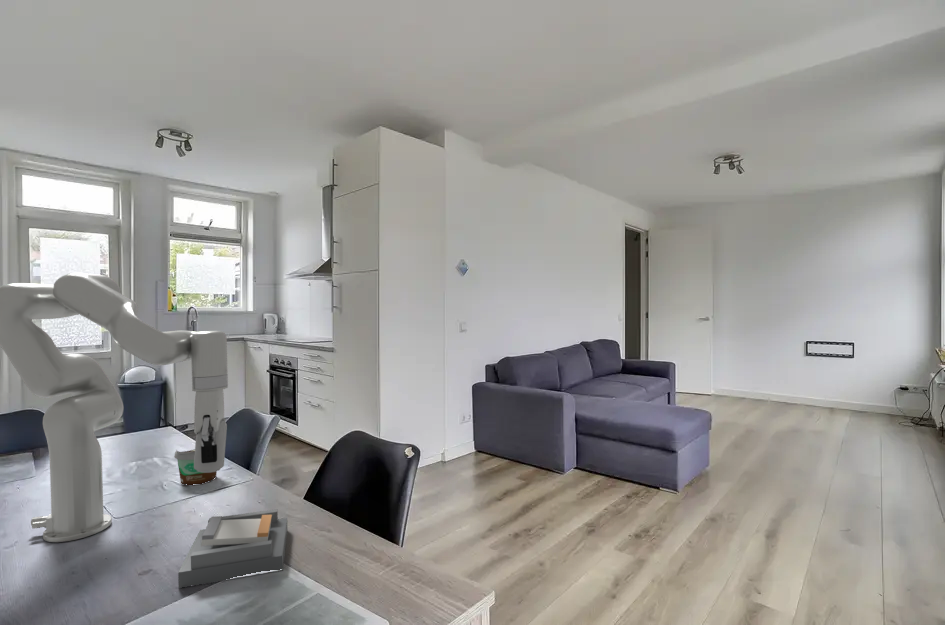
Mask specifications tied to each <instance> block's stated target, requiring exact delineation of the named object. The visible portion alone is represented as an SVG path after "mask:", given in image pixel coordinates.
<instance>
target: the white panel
mask: <svg viewBox="0 0 945 625" xmlns="http://www.w3.org/2000/svg"><path fill="white" fill-rule="evenodd" d="M222 517H223V515H222V516H221V515H219V516H217V515H216V516H211V517H210V518H211V519H210V521H209V523H208V522H207V526H206V527H205V531H204V533H203V535H202V544H201V546H207V545H227V544H247V543H256V542H263V541H268V536H269V531H270V526H271V519H272V515H262V517H261V519H235V520H222Z"/></svg>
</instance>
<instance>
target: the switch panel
mask: <svg viewBox="0 0 945 625" xmlns="http://www.w3.org/2000/svg"><path fill="white" fill-rule="evenodd" d="M278 513H279V511H278V509H268V510H261V511H253V512H247V513H240V514H232V515H224V516H223V515H222V520H235V519H261V517H262V515H272V519H271V526H270V531H269V536H268V541H263V542H256V543H247V544H227V545H207V546H201V544H202V535H203V533H204V531H205V529H206V528H205V529H200V530H199V531H198V533H197V536H196V537H195V539H194V540H193V541H194V542H193V543H192V545H191V547H190V549H189V551H188V553H187V555H185V556H186V557H185V558H184V560H183V563H182V564H181V566H180V569H179V571H178V572H177V574H178V575H177V576H178V577H177V579H178V589H183V588H182V587H185V588H188V587H187V586H191V585H196V586H200V585H199V584H202V585H205V584H204V583H208V584H212V583H211V582H214V583H219V582H218V581H220V582H223V581H222V580H226V579H230V578H233V577H237V576H243V575H246V574H251V573H256V572H261V571H270V570H280V569H283V570H284V562H285V553H286V544H287V539H288V538H287V536H288V517H283V518H278V517H279V514H278ZM210 519H211V517H209V519H208V520H207V524H208V523H209V521H210ZM226 581H227V580H226ZM191 587H192V586H191Z"/></svg>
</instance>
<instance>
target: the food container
mask: <svg viewBox="0 0 945 625" xmlns="http://www.w3.org/2000/svg"><path fill="white" fill-rule="evenodd" d="M175 450H176V451H175V452H174V457H173V458H174V459H175V460H177V465H178V474H179V479H180V484H181V483H182V484H187V485H186V486H189V485H192V486H194V485H193V484H200V485H203V484H202V483H204V484H206V483H205V482H208V481H210V482H212V481H214V480H215V479H216V478H217V472H218V471H216V472H211V473H202V472H198V471H197V470H195V469H194V456H195V448H194V449H191V450H187V451H185V450H184V451H178V450H177V449H175ZM215 477H216V478H215ZM214 478H215V479H214ZM213 479H214V480H213ZM211 480H212V481H211ZM208 483H209V482H208ZM182 484H181V485H182Z"/></svg>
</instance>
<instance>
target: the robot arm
mask: <svg viewBox="0 0 945 625" xmlns="http://www.w3.org/2000/svg"><path fill="white" fill-rule="evenodd" d="M121 292H122V291H121V288H120V286H119V284H118V283H117V281H115V280H114V279H112V277H109V276H107V275H104V274H98V273H97V274H95V273H85V272H72V273H67V274H64V275H62V276H60V277H58V279H56V280H55V282H54V284H51V283H49V284H48V283H32V282H31V283H29V282H28V283H27V282H17V283H16V282H14V283H7V284H2V285H0V348H1V350H3V352H4V353H5V355H6V356H7V358H8V360H9V361H10V364H12V366H13V368H14V370H16V372H17V374H18V375H19V377H20V378H21V379H22V381H23V382H24V384H25V385H26V387H27V389H28V390H29V392H30V393H32V395H33V396H36V397H38V398H40V399H47V398H49V399H50V398H56V397H60V396H64V395H70V396H69V397H65V398H63V399H60V400H58V401H56V402H55V403H52V404H51V405H50V406H49V407H48V408H47V409H46V411H44V415H43V417H42V428H43V432H44V435H45V438H46V441H47V448H48V455H49V456H48V457H49V458H48V460H49V476H50V477H49V481H50V482H49V483H50V484H49V485H50V510H51V511H50V513H49V514H48V515H45V516H43V515H42V516H33V517H32V518H31V520H30V525H31V529H32V530H34V529H40V528H44V531H43V532H42V539H43V540H44V541H45V542H49V543H64V542H70V541H71V542H72V541H76V540H79V539H80V540H81V539H83V538H87V537H91V536H93V535H95V534H98V533H100V532H102V531H104V530H106V529H107V528H108V527H109V526H111V525H112V522H113V519H112V518H113V517H112V516H111V515H110V514H107V513H104V490H103V489H104V487H103V484H104V483H103V455H102V454H103V453H102V448H101V444H100V442H99V440H98V438H97V436H96V434H95V432H97V431H99V430H103V429H105V428H107V427H109V426H112V425H114V424H115V423H117V422H118V421H119V420H120V418H121V417H122V416H123V414H124V403H123V399H122V398H121V395H120V393H119V392H118V390H117V388H115V386H114V384H113V382H112V381H111V380H110V377H108V375H107V374H106V372H105V371H104V369H103V367H102V366H101V365H100V363H99V362H98V361H97V360H95V359H94V358H93V357H91V356H90V355H86V354H82V353H70V354H69V353H68V354H64V353H62V351H60V349H59V348H58V346H57V345H56V344H55V342H54V340H53V339H52V337H51V335H49V334H48V333H47V332H46V331H45V330H43V329H42V328H41V327H40V326H38V325H36V324H35V323H34V322H33V320H55V319H63V318H68V317H73V316H79V315H80V316H82V317H84V318H86V319H87V320H89V321H91V322H92V323H95V324H96V325H97V326H100V327H101V328H103V329H105V330H106V331H108V333H109V334H110V336H111V338H112V339H113V340H114V342H115V343H116V344H117V345H118V346H119V347H120V348H121V349H122V350H124V351H126V352H128V353H129V354H130V355H132V356H134V357H136V358H138V359H140V360H142V361H144V362H146V363H148V364H150V365H155V366H168V365H172V364H177V363H181V362H187V361H190V362H191V388H192V389H191V390H192V392H195V397H194V416H193V418H194V422H193V423H194V426H193V432H194V434H195V435H196V434H199V432H200V431H201V430H202V434H201V435H202V437H201V462H202V463H211V462H216V461H217V444H215V439H216V432H217V431H218V430H219V427H220V422H221V421H222V419H223V418H225V397H224V396H225V394H224V390H225V389H228V388H229V373H228V369H229V368H228V343H227V342H228V341H227V340H228V339H227V335H226V333H225V332H224V331H222V330H203V331H202V330H201V331H192V330H186V329H185V330H184V329H183V330H171V331H170V330H169V331H161V330H159V329H157V328H155V327H153V326H151V325H150V324H147V323H146V322H144V321H143V320H141V318H139V316H137V315H138V312H139V307H138V304H137V303H136V301H135V300H133V299H131V298H129V297H128V296H126V295H124V294H122V293H121ZM201 427H202V429H201ZM209 429H213V431H211V432H209ZM209 435H212V437H211V436H209Z"/></svg>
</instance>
